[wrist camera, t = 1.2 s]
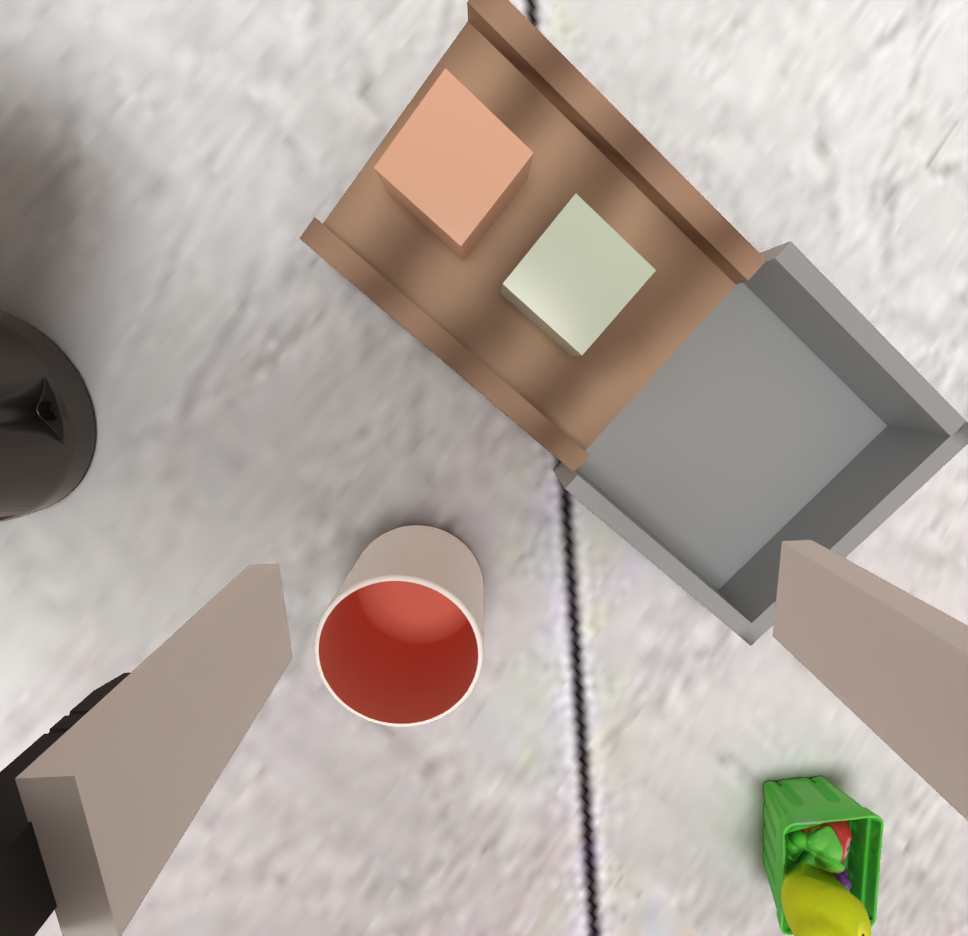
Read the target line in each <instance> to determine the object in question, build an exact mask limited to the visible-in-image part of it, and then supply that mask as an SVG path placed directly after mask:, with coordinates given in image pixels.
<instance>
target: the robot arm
mask: <svg viewBox="0 0 968 936" xmlns="http://www.w3.org/2000/svg"><path fill="white" fill-rule="evenodd" d="M94 442H95V423H94V415H93V410H92V406H91V402H90V399H89V396H88V393H87V391H86V388H85V386H84V384H83V382H82V380H81V378H80V376H79V375H78V373H77V371H76V370H75V368H74V367H73V365H72V364H71V362H70V361H69V360H68V358H67V357H66V356H65V355H64V354H63V352H62V351H61V350H60V349H59V348H58V347H57V346H56V345H55V344H54V343H53V342H52V341H51V340H49V339H48V338H47V337H46V336H45V335H43V334H42V333H41V332H39V331H38V330H37V329H35V328H34V327H32V326H30V325H29V324H27V323H25V322H24V321H22V320H20V319H18V318H16V317H13V316H11V315H8V314H6V313H3V312H0V521H6V520H10V519H15V518H18V517H21V516H24V515H27V514H30V513H33V512H36V511H39V510H42V509H45V508H47V507H49V506H51V505H53V504H55V503H57V502H59V501H60V500H62V499H63V498H64V497H66V496H67V495H68V494H69V493H70V492H71V491H72V490H73V489H74V488H75V487H76V486H77V485H78V483H79V482H80V481H81V479H82V478H83V476H84V474H85V472H86V470H87V468H88V466H89V464H90V461H91V457H92V454H93V449H94ZM773 637H774V638H775V639H776V640H777V641H778V642H779V643H781V644H782V645H783V646H784V647H785V648H786V649H787V650H788V651H789V652H790V653H791V654H792V655H793V656H794V657H795V658H796V659H797V660H798V661H800V662H801V663H802V664H803V665H804V666H805V667H806V668H807V669H808V670H809V671H810V672H811V673H812V674H813V675H814V676H815V677H816V678H817V679H819V680H820V681H821V682H822V683H823V684H824V685H825V686H826V687H827V688H828V689H829V690H830V691H831V692H832V693H833V694H834V695H835V696H836V697H838V698H839V699H840V700H841V701H842V702H843V703H844V704H845V705H846V706H847V707H848V708H849V709H850V710H851V711H852V712H853V713H854V714H855V715H856V716H858V717H859V718H860V719H861V720H862V721H863V722H864V723H865V724H866V725H867V726H868V727H869V728H870V729H871V730H872V731H873V732H874V733H875V734H877V735H878V736H879V737H880V738H881V739H882V740H883V741H884V742H885V743H886V744H887V745H888V746H889V747H890V748H891V749H892V750H893V751H894V752H896V753H897V754H898V755H899V756H900V757H901V758H902V759H903V760H904V761H905V762H906V763H907V764H908V765H909V766H910V767H911V768H912V769H913V770H915V771H916V772H917V773H918V774H919V775H920V776H921V777H922V778H923V779H924V780H925V781H926V782H927V783H928V784H929V785H930V786H931V787H932V788H934V789H935V790H936V791H937V792H938V793H939V794H940V795H941V796H942V797H943V798H944V799H945V800H946V801H947V802H948V803H949V804H950V805H951V806H953V807H954V808H955V809H956V810H957V811H958V812H959V813H960V814H961V815H962V816H963V817H964V818H965V819H966V820H967V821H968V626H967V625H965V624H964V623H962V622H960V621H958V620H956V619H954V618H953V617H951V616H949V615H947V614H945V613H944V612H942V611H940V610H938V609H936V608H934V607H933V606H931V605H929V604H927V603H925V602H924V601H922V600H920V599H918V598H916V597H914V596H913V595H911V594H909V593H907V592H905V591H903V590H902V589H900V588H898V587H896V586H894V585H893V584H891V583H889V582H887V581H885V580H883V579H882V578H880V577H878V576H876V575H874V574H873V573H871V572H869V571H867V570H865V569H863V568H862V567H860V566H858V565H856V564H854V563H853V562H851V561H849V560H847V559H845V558H843V557H842V556H840V555H838V554H836V553H834V552H832V551H831V550H829V549H827V548H825V547H823V546H822V545H820V544H818V543H816V542H814V541H812V540H796V541H782V545H781V556H780V566H779V576H778V587H777V597H776V607H775V618H774V628H773ZM291 659H292V651H291V644H290V637H289V630H288V623H287V617H286V610H285V603H284V596H283V589H282V582H281V575H280V568H279V564H261V565H249V566H248V567H247V568H246V569H244V570H243V571H242V572H241V573H240V574H239V575H238V576H237V577H236V578H235V579H234V580H232V581H231V582H230V583H229V584H228V585H227V586H226V587H225V588H224V589H223V590H221V591H220V592H219V593H218V594H217V595H216V596H215V597H214V598H213V599H212V600H210V601H209V602H208V603H207V604H206V605H205V606H204V607H203V608H202V609H201V610H199V611H198V612H197V613H196V614H195V615H194V616H193V617H192V618H191V619H190V620H188V621H187V622H186V623H185V624H184V625H183V626H182V627H181V628H180V629H179V630H178V631H176V632H175V633H174V634H173V635H172V636H171V637H170V638H169V639H168V640H167V641H165V642H164V643H163V644H162V645H161V646H160V647H159V648H158V649H157V650H156V651H154V652H153V653H152V654H151V655H150V656H149V657H148V658H147V659H146V660H145V661H143V662H142V663H141V664H140V665H139V666H138V667H137V668H136V669H135V670H134V671H132V672H131V673H123V674H122V675H120V676H118V677H117V678H115V679H113V680H111V681H110V682H108V683H106V684H105V685H103V686H101V687H100V688H98V689H96V690H94V691H93V692H92V693H91V694H90V695H88V696H87V697H86V698H85V699H84V700H83V701H82V702H80V703H79V704H78V705H77V706H76V707H75V708H73V709H72V710H71V711H70V714H69V716H64V717H63V718H62V719H61V720H60V721H59V722H57V723H56V724H55V725H54V726H53V727H52V728H50V731H49V733H48V734H44V735H42V736H41V737H40V738H39V739H38V740H37V741H36V742H34V743H33V744H32V745H31V746H30V747H29V748H27V749H26V750H25V751H24V752H23V753H22V754H21V755H19V756H18V757H17V758H16V759H15V760H14V761H13V762H11V763H10V764H9V765H8V766H7V767H6V768H4V769H3V770H2V771H1V772H0V936H35V934H36V933H37V932H38V930H39V929H40V928H41V926H42V925H43V924H44V923H45V921H46V920H47V919H48V917H49V916H50V915H51V913H52V912H53V911H54V910H55V912H56V915H57V918H58V922H59V925H60V928H61V932H62V935H63V936H121V935H122V934H123V932H124V930H125V929H126V927H127V926H128V924H129V922H130V921H131V919H132V917H133V916H134V914H135V913H136V911H137V909H138V908H139V906H140V904H141V903H142V901H143V900H144V898H145V896H146V895H147V893H148V892H149V890H150V888H151V887H152V885H153V883H154V882H155V880H156V879H157V877H158V875H159V874H160V872H161V870H162V869H163V867H164V866H165V864H166V862H167V861H168V859H169V857H170V856H171V854H172V853H173V851H174V849H175V848H176V846H177V844H178V843H179V841H180V840H181V838H182V836H183V835H184V833H185V831H186V830H187V828H188V827H189V825H190V823H191V822H192V820H193V818H194V817H195V815H196V814H197V812H198V810H199V809H200V807H201V806H202V804H203V802H204V801H205V799H206V797H207V796H208V794H209V793H210V791H211V789H212V788H213V786H214V784H215V783H216V781H217V780H218V778H219V776H220V775H221V773H222V771H223V770H224V768H225V767H226V765H227V763H228V762H229V760H230V758H231V757H232V755H233V754H234V752H235V750H236V749H237V747H238V745H239V744H240V742H241V741H242V739H243V737H244V736H245V734H246V732H247V731H248V729H249V728H250V726H251V724H252V723H253V721H254V720H255V718H256V716H257V715H258V713H259V711H260V710H261V708H262V707H263V705H264V703H265V702H266V700H267V698H268V697H269V695H270V694H271V692H272V690H273V689H274V687H275V685H276V684H277V682H278V681H279V679H280V677H281V676H282V674H283V672H284V671H285V669H286V668H287V666H288V664H289V663H290V661H291Z"/></svg>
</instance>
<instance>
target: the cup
mask: <svg viewBox="0 0 968 936" xmlns="http://www.w3.org/2000/svg"><path fill="white" fill-rule="evenodd" d="M314 646H315V660H316V664H317V668H318V671H319V674H320V676H321V679H322V681H323V682H324V684H325V686H326V687H327V689H328V690H329V692H330V693H331V694H332V695H333V697H334V698H335V699H336V700H337V701H338V702H339V703H340V704H341V705H343V706H344V707H345V708H347V709H348V710H349V711H351V712H352V713H354V714H356V715H358V716H359V717H361V718H364V719H366V720H368V721H371V722H374V723H378V724H382V725H387V726H397V727H406V726H416V725H422V724H426V723H429V722H432V721H435V720H437V719H440V718H442V717H443V716H445V715H447V714H449V713H450V712H452V711H453V710H454V709H456V708H457V707H458V706H459V705H460V704H462V703H463V702H464V701H465V699H466V698H467V697H468V696H469V695H470V693H471V692H472V690H473V689H474V687H475V685H476V683H477V681H478V679H479V676H480V673H481V669H482V664H483V654H484V583H483V577H482V573H481V570H480V567H479V565H478V562H477V560H476V559H475V557H474V555H473V554H472V552H471V551H470V550H469V549H468V548H467V546H466V545H465V544H464V543H462V542H461V541H460V540H459V539H457V538H456V537H455V536H453V535H451V534H450V533H448V532H446V531H443V530H441V529H438V528H434V527H430V526H423V525H411V526H404V527H399V528H396V529H393V530H390V531H388V532H386V533H384V534H382V535H381V536H379V537H378V538H376V539H375V540H374V541H373V542H371V543H370V544H369V545H368V546H367V548H366V549H365V550H364V551H363V552H362V554H361V556H360V557H359V559H358V560H357V562H356V563H355V565H354V567H353V568H352V570H351V571H350V573H349V574H348V576H347V577H346V579H345V581H344V582H343V584H342V585H341V587H340V589H339V590H338V592H337V593H336V595H335V596H334V598H333V600H332V601H331V603H330V604H329V606H328V607H327V609H326V610H325V612H324V614H323V616H322V618H321V620H320V622H319V625H318V628H317V631H316V636H315V644H314Z"/></svg>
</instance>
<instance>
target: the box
mask: <svg viewBox="0 0 968 936" xmlns="http://www.w3.org/2000/svg"><path fill="white" fill-rule="evenodd" d="M760 254H761V255H762V256H763V257H764V258H765V259H766V260H767V261H766V262H765V263H764V264H763V265H762V266H761V267H760V268H759V269H758V271H757V272H756V273H755V274H754V275H753V276H752V277H751V278H750V279H749V280H748V281H746V282H743V283H739V284H736V285H735V286H734V287H733V288H732V289H731V290H730V291H729V293H728V294H727V295H726V296H725V297H724V298H723V299H722V300H721V301H720V303H719V304H718V305H717V306H716V307H715V308H714V309H713V310H712V311H711V312H710V314H709V315H708V316H707V317H706V318H705V319H704V320H703V321H702V322H701V323H700V325H699V326H698V327H697V328H696V329H695V330H694V331H693V332H692V333H691V335H690V336H689V337H688V338H687V339H686V340H685V341H684V342H683V343H682V344H681V346H680V347H679V348H678V349H677V350H676V351H675V352H674V353H673V354H672V355H671V357H670V358H669V359H668V360H667V361H666V362H665V363H664V364H663V365H662V367H661V368H660V369H659V370H658V371H657V372H656V373H655V374H654V375H653V376H652V378H651V379H650V380H649V381H648V382H647V383H646V384H645V385H644V386H643V388H642V389H641V390H640V391H639V392H638V393H637V394H636V395H635V396H634V397H633V399H632V400H631V401H630V402H629V403H628V404H627V405H626V406H625V407H624V408H623V410H622V411H621V412H620V413H619V414H618V415H617V416H616V417H615V418H614V420H613V421H612V422H611V423H610V424H609V425H608V426H607V427H606V428H605V429H604V431H603V432H602V433H601V434H600V435H599V436H598V437H597V438H596V439H595V441H594V442H593V443H592V444H591V445H590V446H589V447H588V448H587V449H586V450H585V452H587V453H588V454H589V456H588V457H587V459H586V460H585V461H584V462H583V463H582V464H581V465H580V466H579V467H578V468H577V470H576V471H575V472H573V471H572V470H570V469H569V468H568V467H567V466H566V465H565V464H563V463H562V462H560V463H559V464H558V465H557V466H556V467H555V469H554V472H555V474H556V475H557V477H558V478H559V480H560V482H561V483H562V485H563V486H564V488H565V489H566V490H567V491H568V492H569V493H571V494H572V495H573V496H574V497H575V498H576V499H578V500H579V501H580V502H581V503H582V504H584V505H585V506H586V507H587V508H588V509H590V510H591V511H592V512H593V513H594V514H595V515H597V516H598V517H599V518H600V519H601V520H603V521H604V522H605V523H606V524H607V525H608V526H610V527H611V528H612V529H613V530H614V531H616V532H617V533H618V534H619V535H620V536H621V537H623V538H624V539H625V540H626V541H627V542H629V543H630V544H631V545H632V546H633V547H634V548H636V549H637V550H638V551H639V552H640V553H642V554H643V555H644V556H645V557H646V558H648V559H649V560H650V561H651V562H652V563H653V564H655V565H656V566H657V567H658V568H659V569H661V570H662V571H663V572H664V573H665V574H666V575H668V576H669V577H670V578H671V579H672V580H674V581H675V582H676V583H677V584H678V585H679V586H681V587H682V588H683V589H684V590H685V591H687V592H688V593H689V594H690V595H691V596H692V597H694V598H695V599H696V600H697V601H698V602H700V603H701V604H702V605H703V606H704V607H706V608H707V609H708V610H709V611H710V612H711V613H713V614H714V615H715V616H716V617H717V618H719V619H720V620H721V621H722V622H723V623H724V624H726V625H727V626H728V627H729V628H730V629H732V630H733V631H734V632H735V633H736V634H737V635H739V636H740V637H741V638H742V639H743V640H745V641H746V642H747V643H748V644H749V645H752V644H753V643H754V642H755V641H756V640H758V639H759V638H760V637H761V636H762V635H763V634H764V633H765V632H766V631H767V630H768V629H769V628H770V627H772V626H773V625H774V618H775V607H776V597H777V587H778V576H779V566H780V556H781V545H782V541H796V540H812V541H814V542H816V543H818V544H820V545H822V546H823V547H825V548H827V549H829V550H831V551H832V552H834V553H836V554H838V555H840V556H842V557H843V558H846V557H847V556H848V555H849V554H850V553H851V552H852V551H853V550H854V549H855V548H856V547H857V546H858V545H860V544H861V543H862V542H863V541H864V540H865V539H866V538H867V537H868V536H869V535H870V534H871V533H872V532H873V531H875V530H876V529H877V528H878V527H879V526H880V525H881V524H882V523H883V522H884V521H885V520H886V519H887V518H889V517H890V516H891V515H892V514H893V513H894V512H895V511H896V510H897V509H898V508H899V507H900V506H901V505H902V504H904V503H905V502H906V501H907V500H908V499H909V498H910V497H911V496H912V495H913V494H914V493H915V492H916V491H917V490H919V489H920V488H921V487H922V486H923V485H924V484H925V483H926V482H927V481H928V480H929V479H930V478H931V477H933V476H934V475H935V474H936V473H937V472H938V471H939V470H940V469H941V468H942V467H943V466H944V465H945V464H946V463H948V462H949V461H950V460H951V459H952V458H953V457H954V456H955V455H956V454H957V453H958V452H959V451H960V450H961V449H963V448H964V447H965V446H966V445H967V444H968V423H967V422H966V421H965V420H964V419H963V418H962V417H961V416H960V415H959V414H958V412H957V411H956V410H955V409H954V408H953V407H952V406H951V405H950V404H949V403H948V402H947V401H946V400H945V399H944V398H943V397H942V396H941V395H940V394H939V393H938V392H937V391H936V390H935V389H934V388H933V387H932V386H931V385H930V384H929V383H928V382H927V381H926V380H925V379H924V378H923V377H922V376H921V375H920V374H919V372H918V371H917V370H916V369H915V368H914V367H913V366H912V365H911V364H910V363H909V362H908V361H907V360H906V359H905V358H904V357H903V356H902V355H901V354H900V353H899V352H898V351H897V350H896V349H895V348H894V347H893V346H892V345H891V344H890V343H889V342H888V341H887V340H886V339H885V338H884V337H883V336H882V335H881V334H880V333H879V331H878V330H877V329H876V328H875V327H874V326H873V325H872V324H871V323H870V322H869V321H868V320H867V319H866V318H865V317H864V316H863V315H862V314H861V313H860V312H859V311H858V310H857V309H856V308H855V307H854V306H853V305H852V304H851V303H850V302H849V301H848V300H847V299H846V298H845V297H844V296H843V295H842V294H841V293H840V291H839V290H838V289H837V288H836V287H835V286H834V285H833V284H832V283H831V282H830V281H829V280H828V279H827V278H826V277H825V276H824V275H823V274H822V273H821V272H820V271H819V270H818V269H817V268H816V267H815V266H814V265H813V264H812V263H811V262H810V261H809V260H808V259H807V258H806V257H805V256H804V255H803V254H802V253H801V251H800V250H799V249H798V248H797V247H796V246H795V245H794V244H793V243H792V242H791V241H790V242H788V243H785V244H783V245H780V246H778V247H775V248H772V249H770V250H767V251H765V252H762V253H760Z"/></svg>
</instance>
